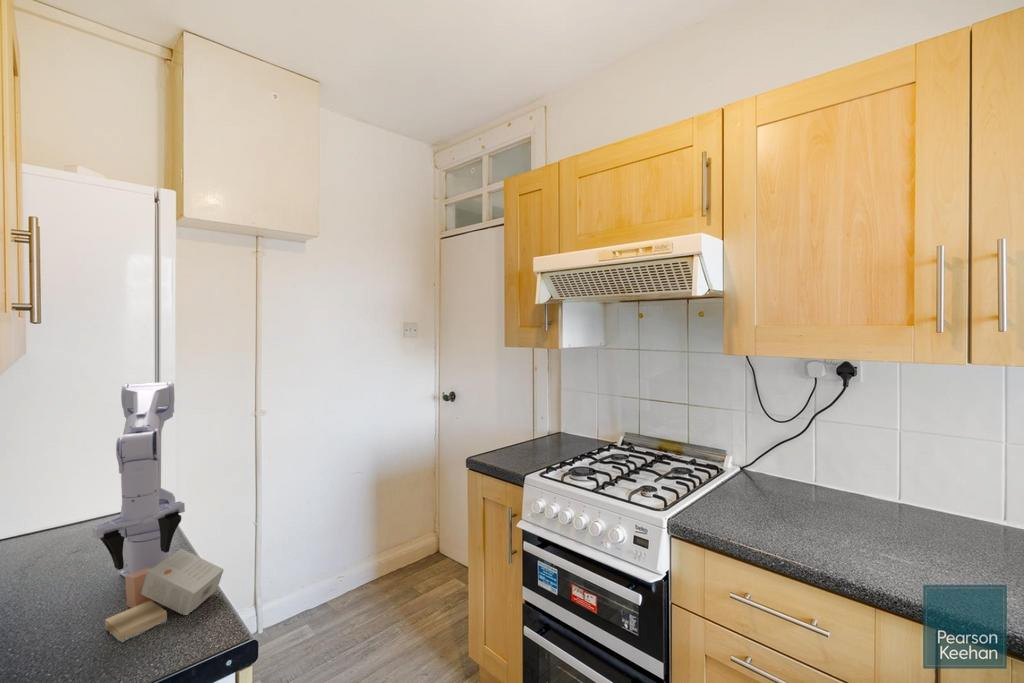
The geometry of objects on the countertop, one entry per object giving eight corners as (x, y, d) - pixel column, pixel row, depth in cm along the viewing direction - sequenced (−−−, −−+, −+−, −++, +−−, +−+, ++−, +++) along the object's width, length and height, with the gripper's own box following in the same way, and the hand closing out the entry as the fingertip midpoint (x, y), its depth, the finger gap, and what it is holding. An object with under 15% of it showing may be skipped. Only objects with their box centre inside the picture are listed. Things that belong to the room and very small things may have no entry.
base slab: (105, 629, 85) (105, 619, 85) (150, 609, 91) (150, 599, 91) (121, 643, 81) (120, 632, 81) (167, 621, 87) (166, 611, 87)
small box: (217, 590, 96) (174, 569, 97) (224, 568, 96) (181, 547, 96) (185, 618, 89) (139, 594, 89) (193, 594, 88) (146, 570, 88)
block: (127, 606, 92) (125, 575, 92) (150, 597, 95) (148, 567, 96) (135, 609, 90) (133, 578, 90) (159, 599, 93) (157, 569, 94)
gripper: (101, 509, 83) (104, 582, 84) (191, 485, 96) (192, 549, 96) (87, 501, 87) (89, 571, 88) (174, 479, 99) (176, 540, 100)
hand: (142, 559), depth 92 cm, fingers open, 7 cm apart
